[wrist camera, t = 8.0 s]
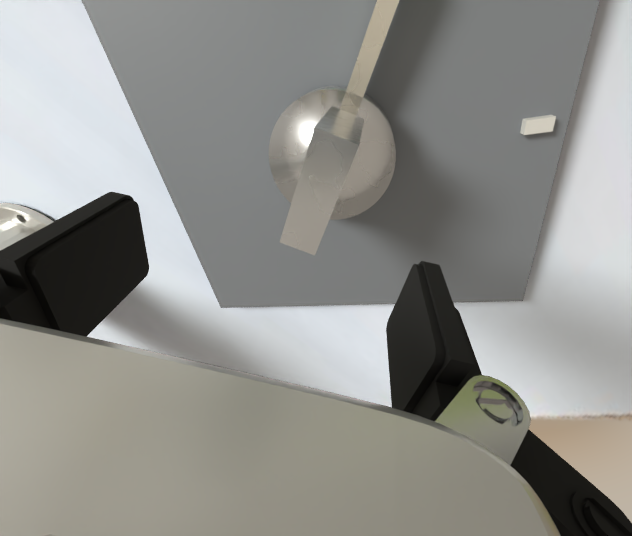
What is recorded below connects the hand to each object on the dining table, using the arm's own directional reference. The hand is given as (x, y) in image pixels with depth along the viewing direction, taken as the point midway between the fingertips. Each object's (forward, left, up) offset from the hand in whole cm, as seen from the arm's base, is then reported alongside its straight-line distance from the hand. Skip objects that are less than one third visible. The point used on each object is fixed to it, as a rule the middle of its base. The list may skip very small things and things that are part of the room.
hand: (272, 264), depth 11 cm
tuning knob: (+2, +3, -13) cm, 14 cm away
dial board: (+1, 0, -15) cm, 15 cm away
